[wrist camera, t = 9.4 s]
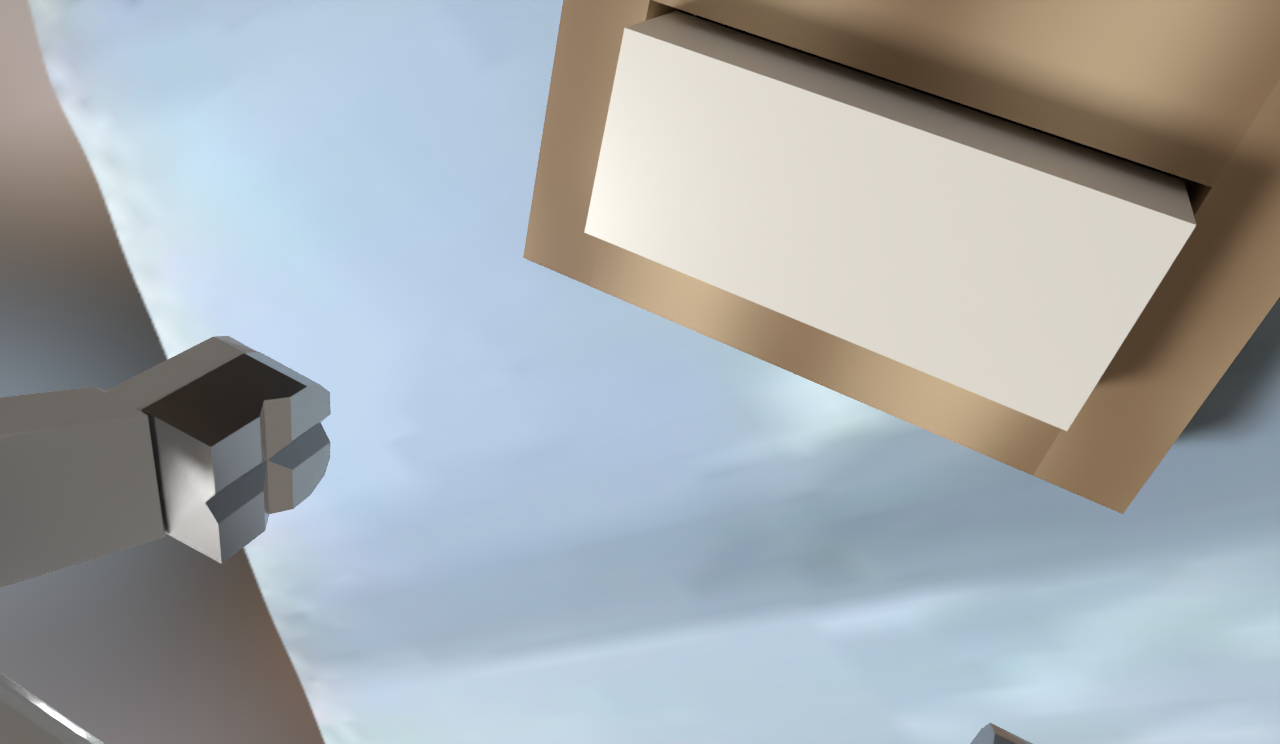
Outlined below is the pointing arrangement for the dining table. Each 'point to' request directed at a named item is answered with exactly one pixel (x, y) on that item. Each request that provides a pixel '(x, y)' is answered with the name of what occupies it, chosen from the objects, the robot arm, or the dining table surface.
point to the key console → (1025, 93)
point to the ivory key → (882, 213)
